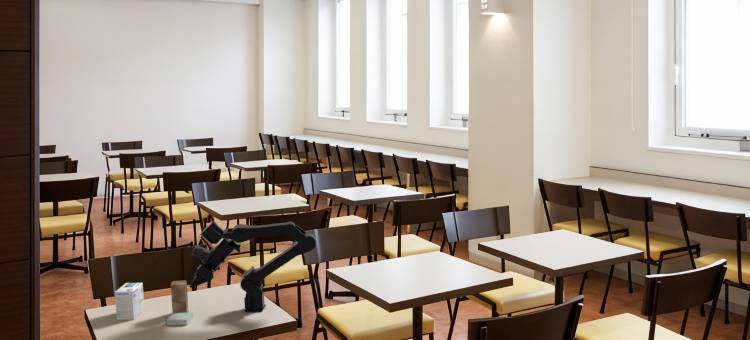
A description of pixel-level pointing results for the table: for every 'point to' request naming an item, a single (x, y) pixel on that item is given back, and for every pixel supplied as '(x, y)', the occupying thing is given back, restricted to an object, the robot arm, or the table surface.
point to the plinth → (180, 319)
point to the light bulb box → (129, 301)
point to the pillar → (179, 296)
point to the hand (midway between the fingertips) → (191, 283)
